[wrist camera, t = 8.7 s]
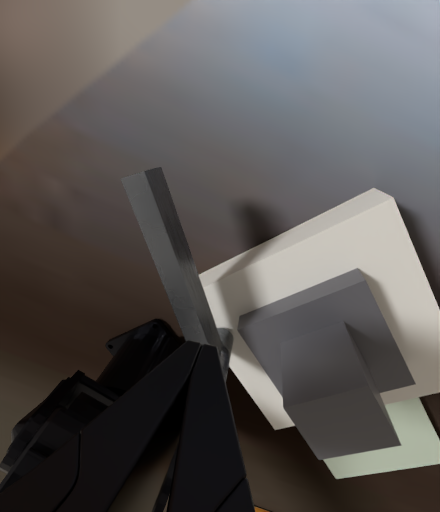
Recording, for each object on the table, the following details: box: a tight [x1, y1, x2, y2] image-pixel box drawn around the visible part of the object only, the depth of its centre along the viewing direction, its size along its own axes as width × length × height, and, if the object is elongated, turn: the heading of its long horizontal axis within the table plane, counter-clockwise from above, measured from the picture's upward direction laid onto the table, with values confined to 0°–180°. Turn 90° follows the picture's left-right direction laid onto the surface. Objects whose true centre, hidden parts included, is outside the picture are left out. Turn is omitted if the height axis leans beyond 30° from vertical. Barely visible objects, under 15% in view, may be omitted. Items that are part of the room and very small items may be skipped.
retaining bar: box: [121, 167, 234, 382], centre depth 16 cm, size 13×2×4 cm, turn 16°
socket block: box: [199, 188, 440, 430], centre depth 20 cm, size 14×14×3 cm
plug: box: [237, 268, 416, 460], centre depth 17 cm, size 8×8×9 cm
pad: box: [323, 397, 440, 479], centre depth 24 cm, size 10×10×1 cm
